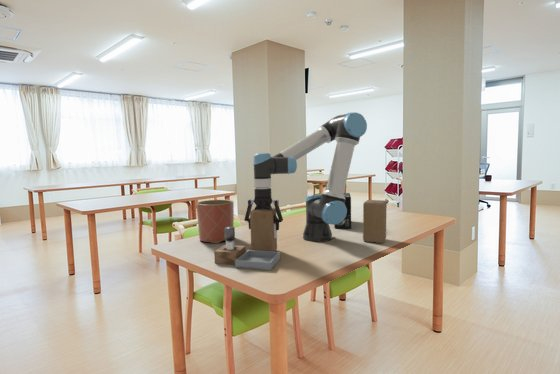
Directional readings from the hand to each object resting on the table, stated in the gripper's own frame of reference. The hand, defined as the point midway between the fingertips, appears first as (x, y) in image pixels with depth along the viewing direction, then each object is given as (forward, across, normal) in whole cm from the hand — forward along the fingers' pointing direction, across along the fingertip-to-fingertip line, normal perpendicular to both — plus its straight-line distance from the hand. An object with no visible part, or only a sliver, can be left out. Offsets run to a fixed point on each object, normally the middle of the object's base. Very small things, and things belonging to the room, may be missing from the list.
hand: (264, 236), depth 150 cm
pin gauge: (+7, +11, +13) cm, 19 cm away
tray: (+7, -2, +14) cm, 16 cm away
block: (+8, -49, -30) cm, 58 cm away
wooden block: (+8, 0, 0) cm, 8 cm away
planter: (+8, +32, -18) cm, 37 cm away
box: (+8, -31, -65) cm, 72 cm away
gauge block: (+7, +11, +13) cm, 19 cm away
